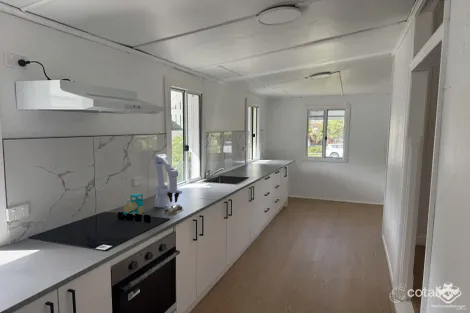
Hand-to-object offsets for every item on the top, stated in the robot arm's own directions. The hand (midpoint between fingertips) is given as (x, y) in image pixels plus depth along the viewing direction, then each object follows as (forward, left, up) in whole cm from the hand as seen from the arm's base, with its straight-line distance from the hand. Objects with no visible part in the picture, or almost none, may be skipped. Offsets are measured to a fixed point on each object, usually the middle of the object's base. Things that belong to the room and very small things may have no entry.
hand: (173, 202), depth 242 cm
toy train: (-25, -18, -8) cm, 32 cm away
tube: (-1, -1, -4) cm, 5 cm away
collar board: (0, 0, -8) cm, 8 cm away
